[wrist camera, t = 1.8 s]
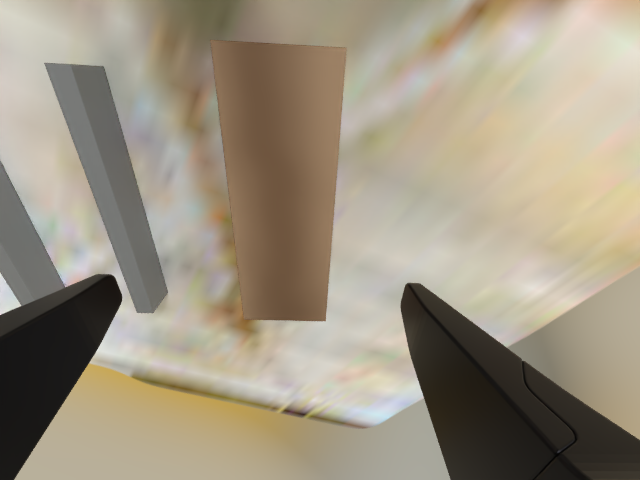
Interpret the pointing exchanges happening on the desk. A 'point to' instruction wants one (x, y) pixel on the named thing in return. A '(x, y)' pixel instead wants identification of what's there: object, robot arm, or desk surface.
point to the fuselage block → (281, 170)
